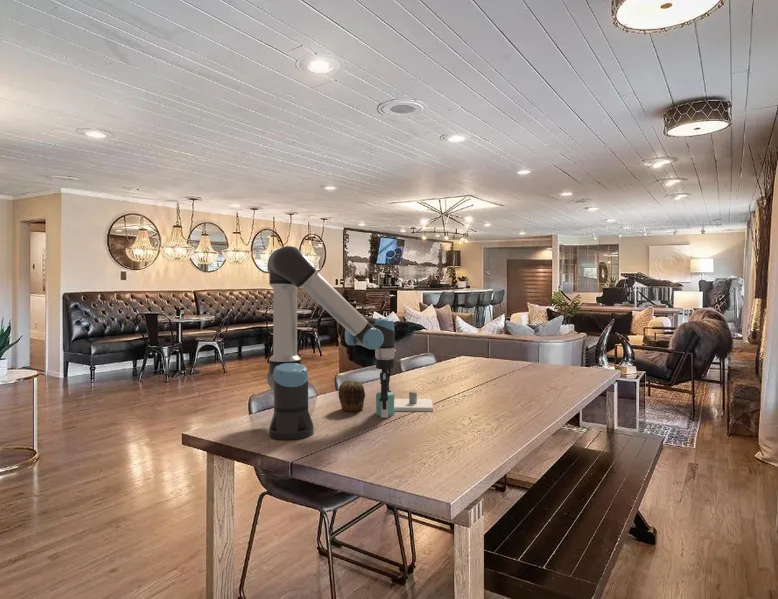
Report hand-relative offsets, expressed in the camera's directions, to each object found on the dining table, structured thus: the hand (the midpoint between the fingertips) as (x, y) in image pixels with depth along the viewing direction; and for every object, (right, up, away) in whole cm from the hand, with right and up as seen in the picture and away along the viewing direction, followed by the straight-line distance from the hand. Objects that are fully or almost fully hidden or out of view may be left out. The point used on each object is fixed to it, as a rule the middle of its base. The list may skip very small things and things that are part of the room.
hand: (385, 413), depth 199 cm
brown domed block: (-14, 0, +7) cm, 15 cm away
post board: (+11, 0, +12) cm, 16 cm away
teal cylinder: (0, 0, 0) cm, 0 cm away
